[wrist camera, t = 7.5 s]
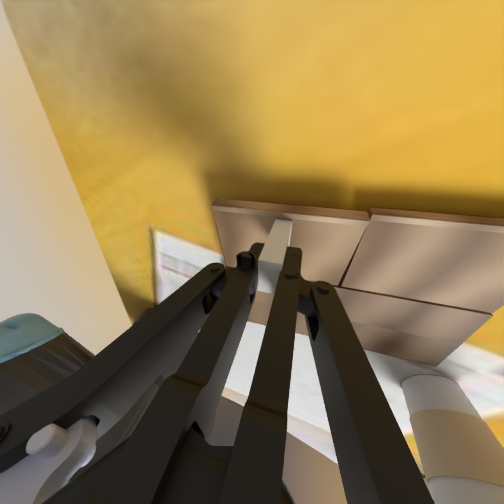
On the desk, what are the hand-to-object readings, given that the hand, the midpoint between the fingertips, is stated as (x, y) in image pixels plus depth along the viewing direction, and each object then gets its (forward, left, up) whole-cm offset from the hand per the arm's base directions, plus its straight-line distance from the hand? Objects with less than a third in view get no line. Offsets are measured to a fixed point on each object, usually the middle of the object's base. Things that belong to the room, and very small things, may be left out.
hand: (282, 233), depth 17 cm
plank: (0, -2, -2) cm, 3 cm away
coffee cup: (+24, -24, -3) cm, 34 cm away
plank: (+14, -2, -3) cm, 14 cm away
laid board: (+7, -12, -3) cm, 14 cm away
